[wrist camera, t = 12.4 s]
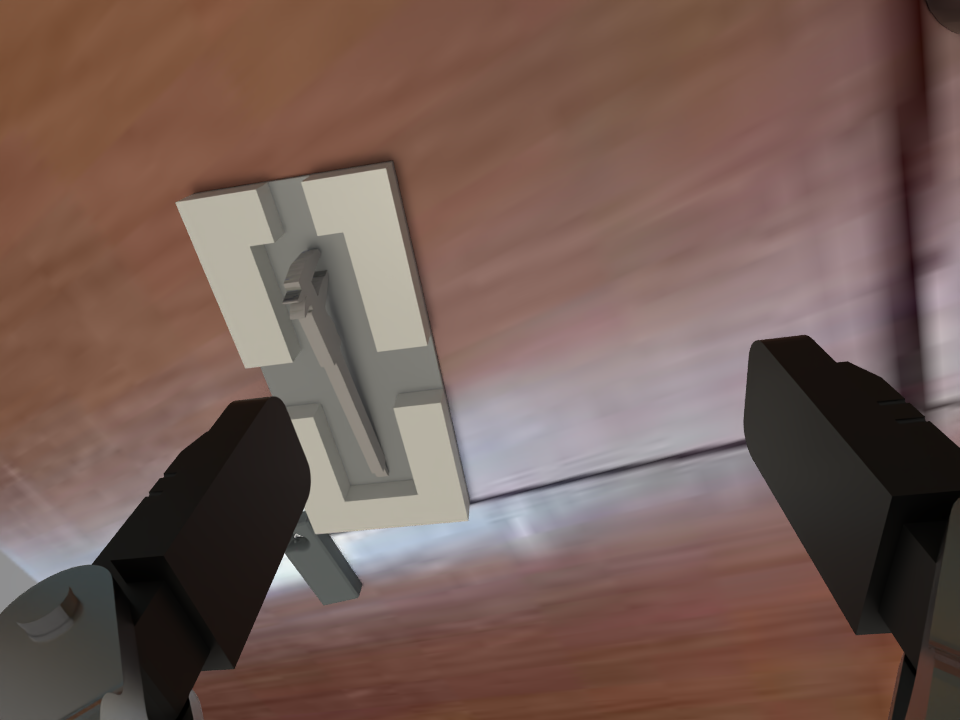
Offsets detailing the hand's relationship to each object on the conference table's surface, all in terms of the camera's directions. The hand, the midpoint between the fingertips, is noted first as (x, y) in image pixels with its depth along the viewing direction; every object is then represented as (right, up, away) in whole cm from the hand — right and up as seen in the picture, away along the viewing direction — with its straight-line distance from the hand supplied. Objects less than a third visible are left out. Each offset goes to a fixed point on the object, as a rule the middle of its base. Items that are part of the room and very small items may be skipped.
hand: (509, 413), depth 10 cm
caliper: (-11, 0, +35) cm, 36 cm away
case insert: (-11, 0, +35) cm, 37 cm away
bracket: (-16, -18, +46) cm, 52 cm away
